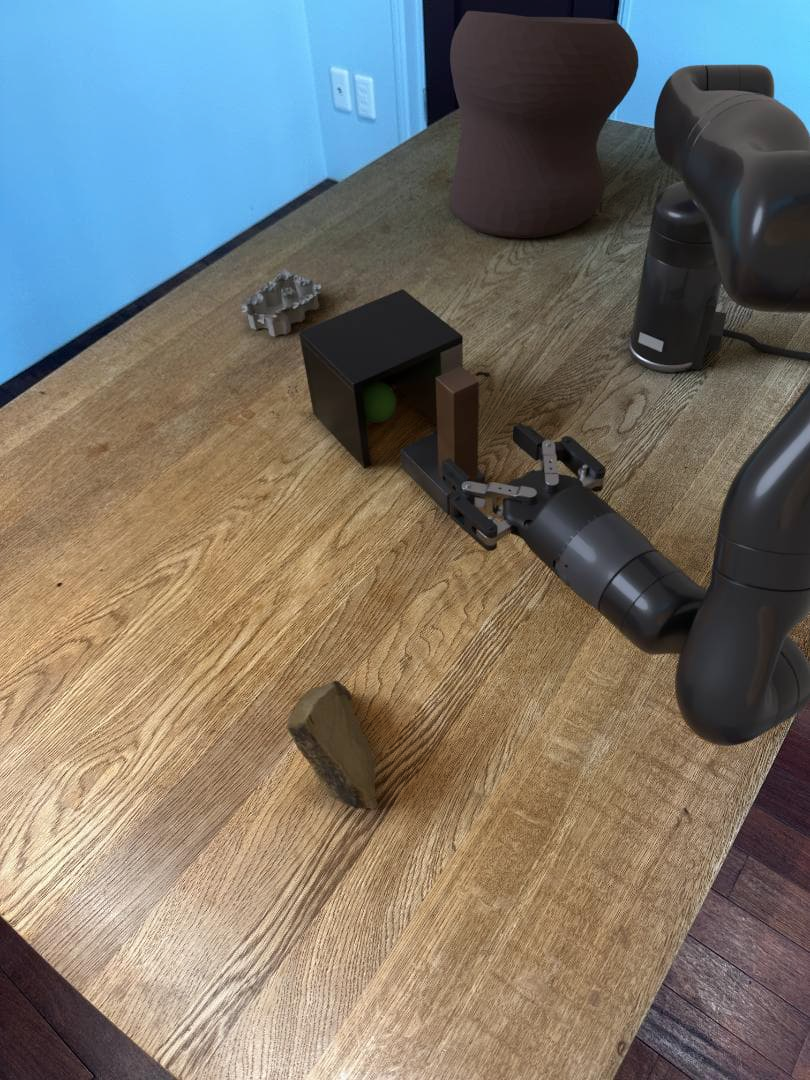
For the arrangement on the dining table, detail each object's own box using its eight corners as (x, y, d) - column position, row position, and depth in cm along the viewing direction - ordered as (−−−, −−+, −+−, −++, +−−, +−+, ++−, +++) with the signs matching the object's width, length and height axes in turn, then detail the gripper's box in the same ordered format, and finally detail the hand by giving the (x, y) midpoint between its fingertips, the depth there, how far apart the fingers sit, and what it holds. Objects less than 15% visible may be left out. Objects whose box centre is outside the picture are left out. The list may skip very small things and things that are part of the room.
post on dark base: (484, 495, 89) (487, 377, 77) (447, 514, 87) (444, 397, 75) (437, 450, 94) (433, 333, 82) (401, 468, 93) (392, 351, 81)
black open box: (463, 420, 98) (462, 335, 88) (364, 468, 93) (353, 384, 84) (408, 371, 104) (402, 288, 95) (313, 414, 100) (298, 331, 91)
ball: (399, 374, 96) (395, 400, 100) (357, 369, 96) (355, 396, 100) (396, 408, 94) (393, 433, 98) (353, 404, 93) (352, 429, 98)
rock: (298, 663, 73) (245, 753, 66) (347, 626, 67) (294, 720, 60) (389, 733, 75) (347, 827, 68) (444, 703, 69) (404, 802, 62)
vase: (629, 240, 123) (667, 13, 100) (451, 248, 124) (448, 25, 102) (603, 161, 140) (630, -47, 118) (447, 169, 142) (444, -36, 119)
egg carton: (280, 341, 110) (274, 316, 107) (239, 325, 114) (233, 300, 110) (328, 303, 116) (324, 277, 113) (288, 288, 119) (284, 263, 116)
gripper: (661, 484, 69) (540, 389, 79) (531, 559, 65) (418, 449, 74) (647, 542, 75) (535, 447, 84) (526, 614, 70) (421, 506, 80)
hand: (480, 448), depth 79 cm, fingers open, 8 cm apart
